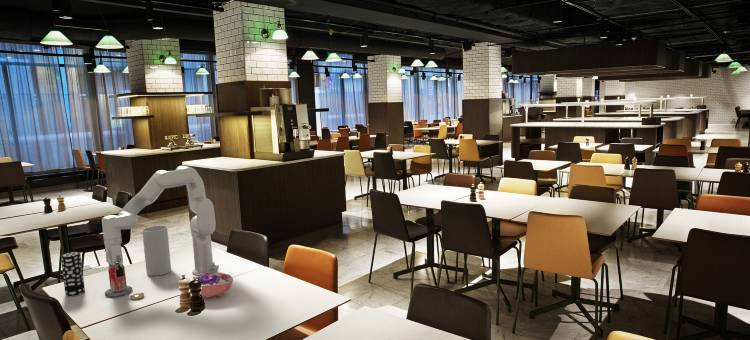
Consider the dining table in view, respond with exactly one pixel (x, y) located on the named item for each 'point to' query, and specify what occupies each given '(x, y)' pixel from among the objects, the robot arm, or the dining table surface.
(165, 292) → the dining table surface
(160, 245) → the cylinder vase
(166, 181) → the robot arm
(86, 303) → the dining table surface
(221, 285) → the cell model
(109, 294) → the disc
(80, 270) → the white-spotted black cylinder
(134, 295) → the disc
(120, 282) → the soda can
